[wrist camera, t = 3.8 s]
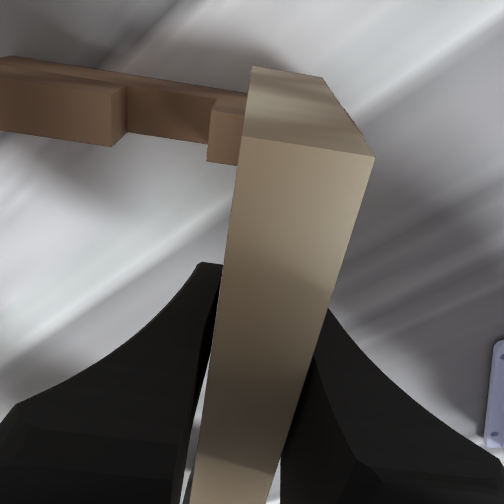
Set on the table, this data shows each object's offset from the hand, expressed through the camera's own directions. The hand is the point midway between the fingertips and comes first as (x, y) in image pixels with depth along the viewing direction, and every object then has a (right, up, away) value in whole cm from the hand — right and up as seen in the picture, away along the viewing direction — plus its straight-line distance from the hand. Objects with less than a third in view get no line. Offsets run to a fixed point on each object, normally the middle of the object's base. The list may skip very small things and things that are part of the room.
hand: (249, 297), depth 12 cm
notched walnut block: (-3, +8, +6) cm, 10 cm away
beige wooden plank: (0, +1, +2) cm, 2 cm away
